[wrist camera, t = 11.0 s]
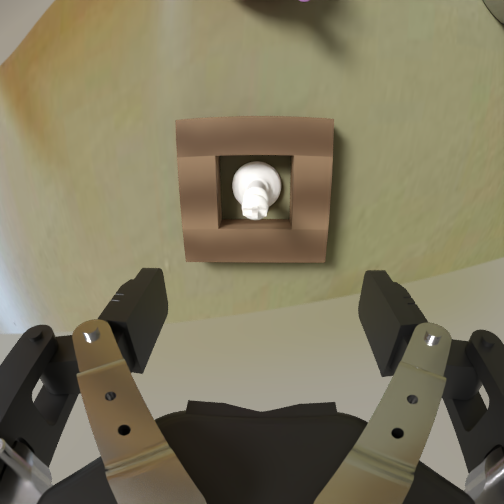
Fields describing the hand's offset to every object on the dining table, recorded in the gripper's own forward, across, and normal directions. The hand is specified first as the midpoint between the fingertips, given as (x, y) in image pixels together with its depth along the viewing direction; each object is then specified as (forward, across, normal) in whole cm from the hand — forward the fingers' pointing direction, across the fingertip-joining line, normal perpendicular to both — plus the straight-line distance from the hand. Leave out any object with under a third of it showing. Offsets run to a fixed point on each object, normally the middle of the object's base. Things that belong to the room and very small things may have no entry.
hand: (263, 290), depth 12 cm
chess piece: (+20, +1, 0) cm, 20 cm away
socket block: (+20, +1, 0) cm, 20 cm away
